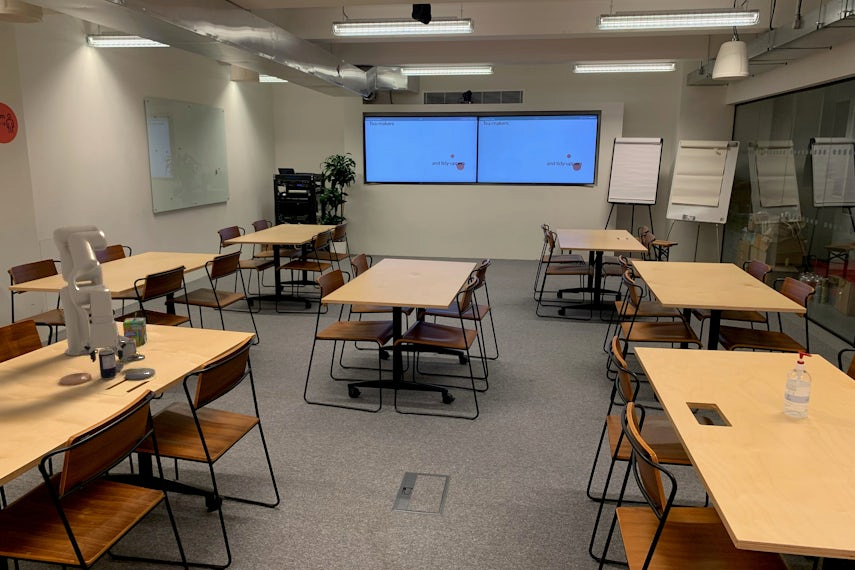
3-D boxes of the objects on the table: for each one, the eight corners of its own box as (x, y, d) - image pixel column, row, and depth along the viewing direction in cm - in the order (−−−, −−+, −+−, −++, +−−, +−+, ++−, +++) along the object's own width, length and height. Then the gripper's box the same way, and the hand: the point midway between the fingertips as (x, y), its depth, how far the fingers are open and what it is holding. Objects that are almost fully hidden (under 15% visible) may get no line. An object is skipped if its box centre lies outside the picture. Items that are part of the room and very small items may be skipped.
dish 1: (65, 376, 252) (64, 374, 252) (94, 374, 255) (94, 371, 255) (56, 386, 242) (56, 383, 242) (87, 383, 245) (87, 381, 245)
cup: (131, 362, 270) (129, 343, 268) (109, 361, 271) (107, 342, 269) (140, 357, 277) (138, 338, 275) (119, 356, 278) (117, 337, 276)
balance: (84, 369, 262) (80, 336, 259) (147, 364, 268) (144, 332, 265) (79, 375, 254) (75, 341, 251) (144, 370, 261) (141, 337, 258)
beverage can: (119, 375, 255) (116, 347, 252) (112, 380, 249) (109, 352, 247) (105, 375, 254) (102, 347, 252) (98, 380, 249) (95, 352, 246)
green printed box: (127, 341, 302) (124, 311, 298) (147, 339, 304) (145, 310, 301) (124, 346, 293) (121, 316, 290) (145, 344, 296) (142, 315, 293)
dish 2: (128, 372, 259) (128, 369, 258) (157, 369, 262) (156, 367, 261) (123, 381, 248) (123, 378, 248) (153, 378, 251) (152, 376, 251)
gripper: (76, 322, 241) (81, 364, 244) (124, 319, 245) (128, 360, 249) (81, 318, 248) (86, 359, 251) (128, 315, 252) (132, 355, 256)
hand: (107, 360), depth 250 cm, fingers open, 9 cm apart
